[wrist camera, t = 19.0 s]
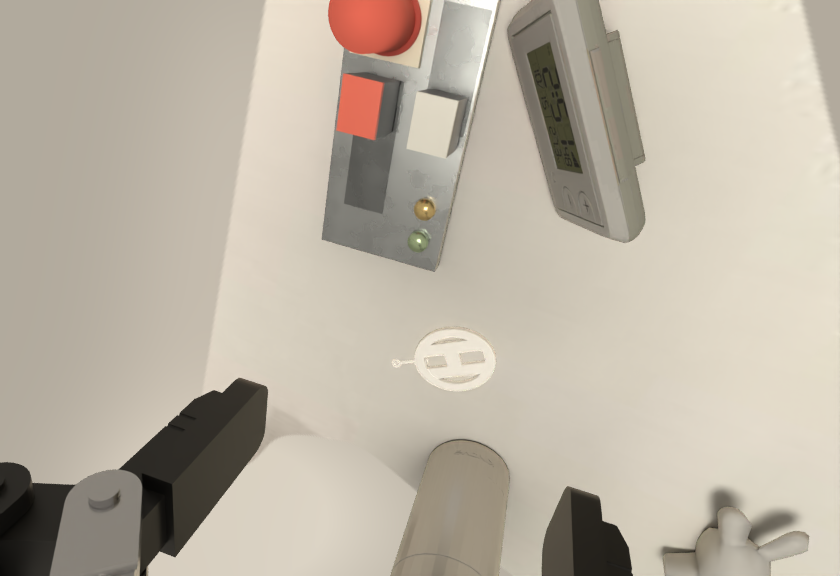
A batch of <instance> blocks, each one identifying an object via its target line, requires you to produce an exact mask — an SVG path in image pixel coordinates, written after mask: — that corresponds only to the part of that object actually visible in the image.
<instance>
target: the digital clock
mask: <svg viewBox="0 0 840 576" xmlns="http://www.w3.org/2000/svg"><path fill="white" fill-rule="evenodd" d="M508 38H509V42H510V46H511V50H512V53H513V57H514V61H515V65H516V68H517V72H518V76H519V79H520V83H521V86H522V90H523V94H524V97H525V101H526V105H527V108H528V112H529V116H530V119H531V123H532V126H533V130H534V134H535V137H536V141H537V145H538V148H539V152H540V156H541V159H542V163H543V166H544V170H545V174H546V177H547V181H548V185H549V188H550V192H551V195H552V199H553V202H554V206H555V209H556V211H557V213H558V215H559V216H560V217H561V218H563V219H565V220H568V221H570V222H572V223H574V224H576V225H579V226H581V227H583V228H585V229H587V230H590V231H592V232H594V233H596V234H599V235H601V236H603V237H606V238H609V239H612V240H616V241H619V242H623V243H627V242H630V241H632V240H634V239H635V238H636V237H637V236H638V235H639V234H640V232H641V230H642V229H643V227H644V224H645V212H644V207H643V202H642V197H641V192H640V188H639V183H638V178H637V173H636V169H635V166H636V165H639V164H641V163H643V162H644V161H645V154H644V150H643V146H642V141H641V136H640V131H639V126H638V122H637V117H636V112H635V107H634V103H633V98H632V93H631V88H630V84H629V79H628V74H627V69H626V64H625V60H624V55H623V50H622V45H621V41H620V35H619V31H618V30H616V31H614V32H611V33H608V34H606V31H605V26H604V22H603V17H602V13H601V9H600V5H599V0H532V1H531V2H529V3H528V4H527V5H526V6H525V7H523V8H522V9H521V10H520V11H519V12H518V13H517V14H516V15H515V17H514V18H513V20H512V22H511V23H510V25H509V27H508Z"/></svg>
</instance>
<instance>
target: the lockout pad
mask: <svg viewBox="0 0 840 576" xmlns="http://www.w3.org/2000/svg"><path fill="white" fill-rule="evenodd" d="M418 2H419V5H420V9H421V16H422V21H421V29H420V32H419V35H418V37H417V39H416V41H415V42H414V44H413V45H412V46H411V47H410V48H409V49H408V50H407V51H405V52H404V53H402V54H399V55H395V56H381V55H378V54H375V53H371V54H358V55H363V56H367V57H371V58H376V59H380V60H384V61H389V62H393V63H397V64H401V65H406V66H410V67H414V68H420V66H421V60H422V55H423V49H424V44H425V38H426V32H427V27H428V21H429V16H430V10H431V5H432V0H418ZM349 52H350V53H353V52H351V51H349ZM354 54H357V53H354Z"/></svg>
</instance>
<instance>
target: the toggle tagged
mask: <svg viewBox="0 0 840 576" xmlns="http://www.w3.org/2000/svg"><path fill="white" fill-rule="evenodd" d="M399 85H400V81H399V80H395V79H390V78H386V77H382V76H378V75H374V74H369V73H365V72H360V73H343V79H342V87H341V96H340V104H339V113H338V121H337V130H336V131H340V132H344V133H348V134H352V135H356V136H360V137H364V138H367V139H371V140H376V139H378V138H381V137H383V136H385V135H388V134H390V133H392V127H393V121H394V115H395V109H396V103H397V97H398V91H399Z"/></svg>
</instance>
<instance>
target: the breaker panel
mask: <svg viewBox="0 0 840 576" xmlns="http://www.w3.org/2000/svg"><path fill="white" fill-rule="evenodd" d="M500 1H501V0H432V5H431V10H430V16H429V21H428V27H427V32H426V38H425V44H424V49H423V55H422V60H421V66H420V68H414V67H410V66H406V65H401V64H397V63H393V62H389V61H384V60H380V59H376V58H371V57H367V56H363V55H358V54H354V53H350V52H349V50H347V49H345V48H344V54H343V62H342V71H341V79H340V88H339V97H338V105H337V114H336V122H335V131H334V139H333V148H332V156H331V165H330V174H329V182H328V191H327V199H326V208H325V216H324V225H323V233H322V240H326V241H329V242H333V243H336V244H339V245H343V246H346V247H350V248H353V249H357V250H360V251H364V252H367V253H371V254H374V255H378V256H381V257H385V258H388V259H392V260H395V261H399V262H402V263H405V264H409V265H412V266H416V267H419V268H423V269H426V270H430V271H433V272H435V271H436V269H437V267H438V265H439V260H440V256H441V252H442V248H443V243H444V239H445V235H446V231H447V226H448V222H449V218H450V214H451V209H452V205H453V201H454V197H455V192H456V188H457V184H458V180H459V175H460V171H461V167H462V163H463V158H464V154H465V150H466V146H467V141H468V137H469V133H470V129H471V124H472V120H473V116H474V112H475V107H476V103H477V99H478V95H479V90H480V86H481V82H482V78H483V73H484V69H485V65H486V61H487V56H488V52H489V48H490V44H491V39H492V35H493V31H494V26H495V22H496V18H497V14H498V9H499V5H500ZM360 72H365V73H369V74H374V75H378V76H382V77H386V78H390V79H395V80H399V81H400V85H399V91H398V97H397V103H396V109H395V115H394V121H393V127H392V133H390V134H388V135H385V136H383V137H381V138H378V139H376V140H371V139H367V138H364V137H360V136H356V135H352V134H348V133H344V132H340V131H336V130H337V121H338V113H339V104H340V96H341V87H342V79H343V73H360ZM430 88H431V89H436V90H440V91H444V92H448V93H453V94H457V95H461V96H465V97H468V101H467V105H466V109H465V114H464V118H463V123H462V127H461V131H460V136H459V140H458V145H457V149H456V150H455V151H454V152H453V153H452V154H451V155H449V156H448V157H447V158H446V159H445V158H441V157H437V156H433V155H429V154H425V153H421V152H417V151H413V150H409V149H406V148H407V142H408V137H409V131H410V126H411V120H412V115H413V109H414V104H415V98H416V93H417V91H421V90H425V89H430Z"/></svg>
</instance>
